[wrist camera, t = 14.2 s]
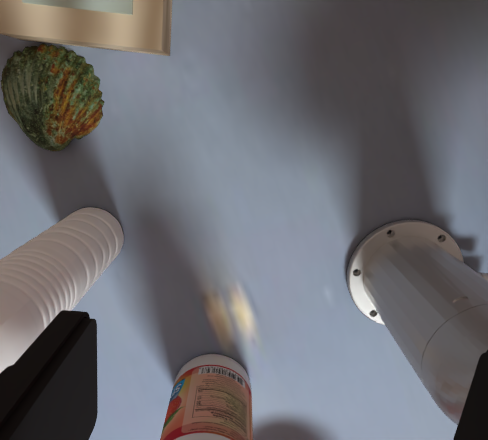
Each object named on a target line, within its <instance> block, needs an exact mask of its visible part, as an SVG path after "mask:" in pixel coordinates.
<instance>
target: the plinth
mask: <svg viewBox="0 0 488 440" xmlns="http://www.w3.org/2000/svg"><path fill="white" fill-rule="evenodd" d="M171 17H172V0H0V34H3V35H6V36H10V37H13V38H17V39H20V40H27V41H36V42H46V43H55V44H64V45H74V46H83V47H92V48H101V49H111V50H120V51H129V52H139V53H148V54H157V55H167V56H170V41H171Z"/></svg>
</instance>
